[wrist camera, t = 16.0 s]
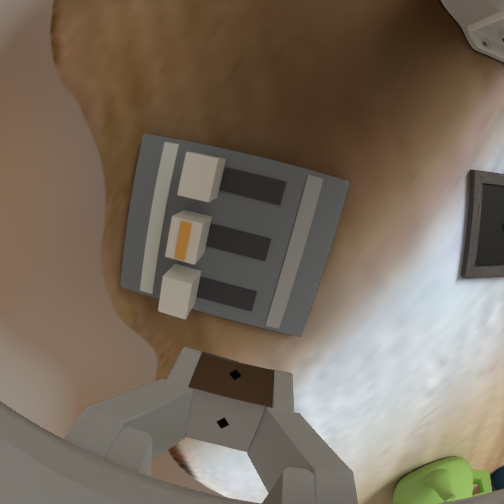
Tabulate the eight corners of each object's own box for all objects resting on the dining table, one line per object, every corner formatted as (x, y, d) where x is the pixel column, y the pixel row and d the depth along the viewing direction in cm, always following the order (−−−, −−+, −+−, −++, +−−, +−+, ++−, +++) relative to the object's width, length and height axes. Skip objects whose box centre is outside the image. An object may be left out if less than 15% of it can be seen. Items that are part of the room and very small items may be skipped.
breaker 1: (201, 270, 34) (191, 284, 30) (195, 303, 35) (185, 319, 31) (175, 263, 34) (162, 275, 30) (169, 296, 35) (158, 311, 32)
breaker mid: (212, 216, 33) (202, 224, 29) (204, 253, 34) (194, 265, 30) (184, 209, 33) (171, 216, 29) (177, 246, 34) (164, 257, 30)
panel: (346, 180, 33) (350, 181, 30) (299, 328, 38) (300, 338, 36) (150, 134, 33) (142, 133, 31) (127, 281, 38) (119, 287, 36)
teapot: (423, 501, 48) (436, 546, 34) (364, 494, 47) (372, 550, 33) (482, 452, 43) (505, 498, 29) (430, 440, 42) (454, 500, 28)
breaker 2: (226, 159, 31) (218, 158, 27) (217, 197, 32) (208, 202, 28) (197, 152, 31) (186, 151, 27) (189, 191, 32) (177, 194, 28)
